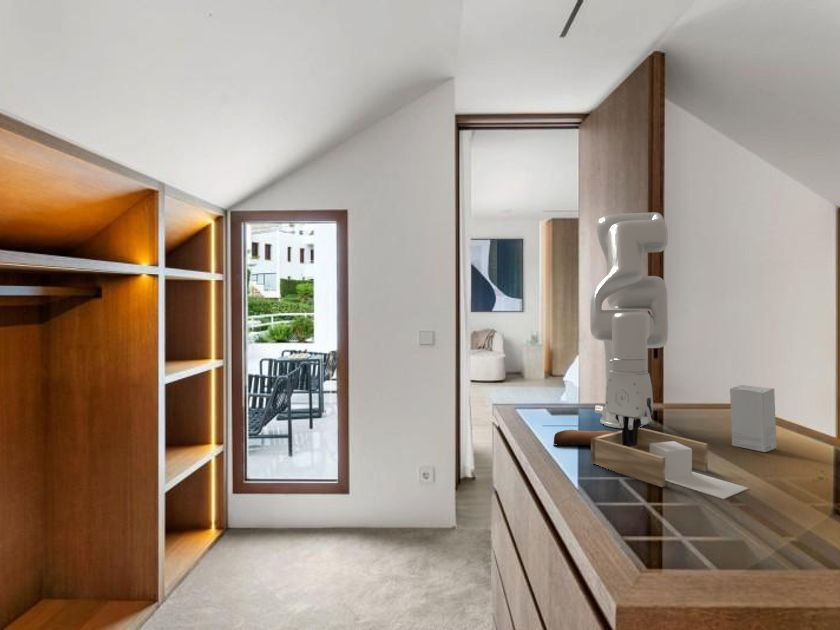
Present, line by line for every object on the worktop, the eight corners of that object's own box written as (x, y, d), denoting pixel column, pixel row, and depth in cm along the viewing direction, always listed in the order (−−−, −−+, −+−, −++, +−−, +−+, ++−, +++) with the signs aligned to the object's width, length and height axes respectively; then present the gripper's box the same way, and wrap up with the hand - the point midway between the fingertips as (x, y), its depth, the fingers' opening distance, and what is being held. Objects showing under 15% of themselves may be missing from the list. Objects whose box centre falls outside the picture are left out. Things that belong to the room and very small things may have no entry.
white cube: (691, 476, 122) (692, 448, 121) (666, 479, 121) (666, 451, 120) (673, 467, 128) (673, 440, 127) (649, 470, 126) (649, 443, 126)
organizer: (661, 487, 117) (661, 458, 116) (591, 463, 132) (590, 438, 132) (707, 470, 126) (707, 443, 125) (636, 450, 141) (636, 426, 141)
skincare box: (776, 448, 139) (777, 388, 138) (764, 453, 136) (765, 391, 135) (741, 441, 146) (742, 383, 145) (728, 445, 143) (729, 386, 142)
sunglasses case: (624, 440, 150) (625, 421, 146) (626, 460, 144) (628, 442, 141) (553, 437, 154) (553, 419, 151) (553, 457, 149) (553, 439, 145)
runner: (611, 464, 132) (612, 463, 132) (637, 456, 136) (637, 455, 136) (723, 499, 110) (723, 498, 110) (748, 488, 115) (748, 487, 115)
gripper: (592, 364, 136) (592, 441, 136) (647, 371, 123) (647, 455, 124) (613, 361, 140) (613, 436, 140) (668, 368, 127) (669, 449, 128)
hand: (629, 445), depth 132 cm, fingers closed
